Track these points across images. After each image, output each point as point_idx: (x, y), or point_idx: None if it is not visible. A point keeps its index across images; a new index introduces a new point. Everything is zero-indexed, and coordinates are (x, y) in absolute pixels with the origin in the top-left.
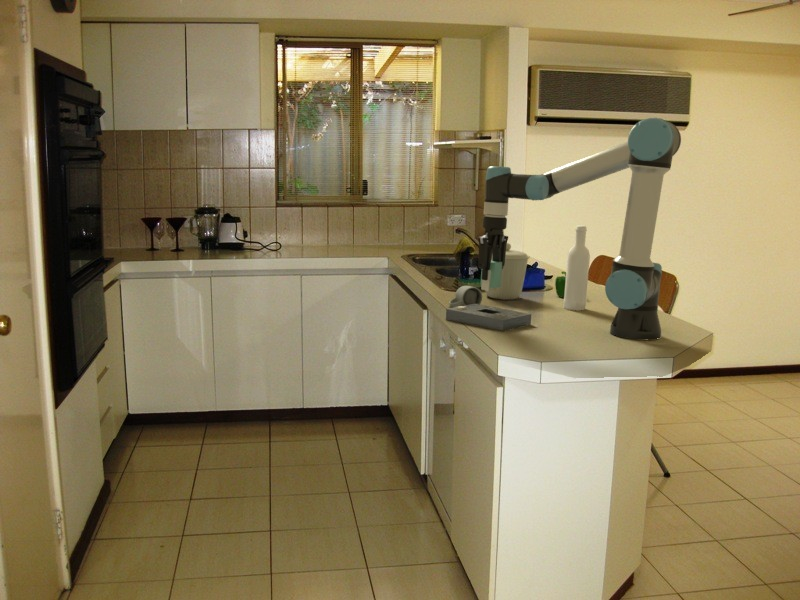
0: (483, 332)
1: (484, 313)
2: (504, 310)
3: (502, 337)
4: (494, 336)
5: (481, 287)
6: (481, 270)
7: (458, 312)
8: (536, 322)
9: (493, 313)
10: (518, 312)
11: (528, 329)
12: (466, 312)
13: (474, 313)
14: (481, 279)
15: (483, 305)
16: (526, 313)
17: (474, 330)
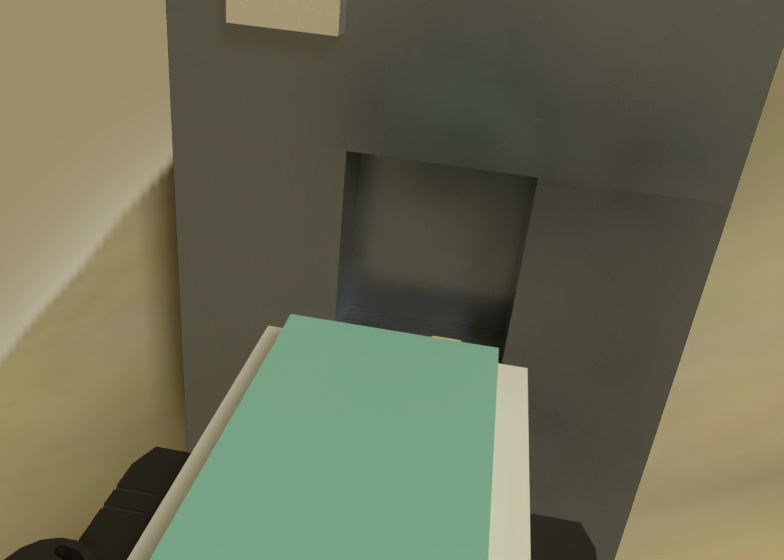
0: (81, 354)
1: (295, 281)
2: (605, 356)
3: (77, 486)
4: (54, 445)
5: (258, 343)
6: (183, 501)
7: (173, 23)
8: (738, 506)
9: (519, 266)
10: (600, 478)
11: None
12: (185, 127)
13: (211, 213)
14: (256, 388)
15: (757, 47)
16: (608, 536)
17: (74, 282)
